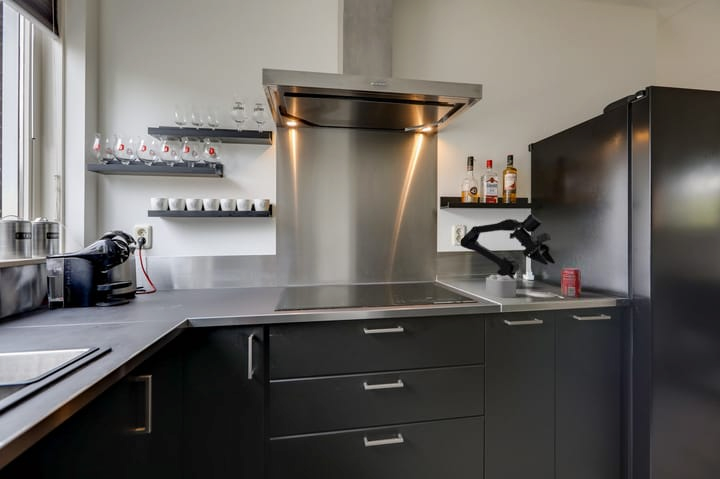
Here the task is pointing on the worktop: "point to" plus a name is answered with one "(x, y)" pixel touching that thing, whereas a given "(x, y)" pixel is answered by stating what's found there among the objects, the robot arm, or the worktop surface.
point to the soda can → (571, 282)
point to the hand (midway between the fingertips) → (550, 263)
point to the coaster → (540, 294)
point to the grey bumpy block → (500, 286)
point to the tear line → (557, 295)
